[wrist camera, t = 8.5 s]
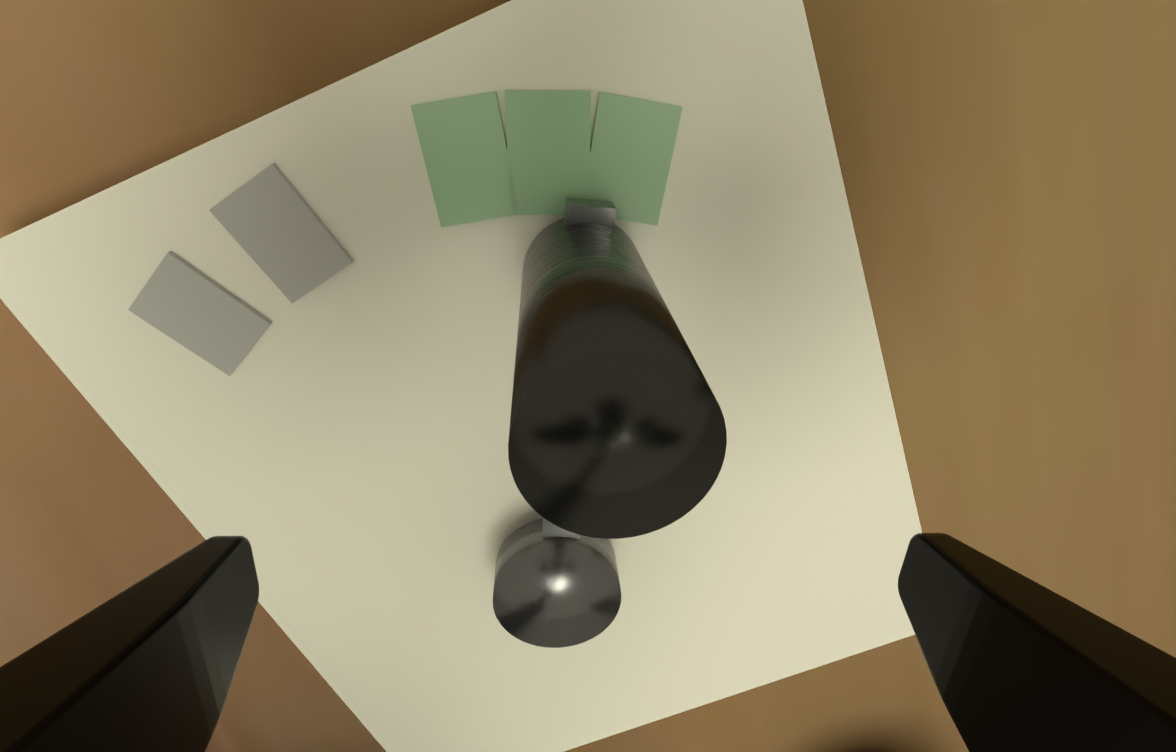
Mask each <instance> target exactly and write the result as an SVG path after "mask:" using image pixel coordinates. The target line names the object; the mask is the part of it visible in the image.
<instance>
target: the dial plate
mask: <svg viewBox="0 0 1176 752" xmlns="http://www.w3.org/2000/svg"><path fill="white" fill-rule="evenodd" d="M566 198H579V199H591V200H603V201H612V202H613V204H614V206H615V207H616V216H615V225H617V226H618V227H620V228H621V229H622V230H623V231H624V232H625V233H626V234H627V235H628V236H629V237H630V239H631V240H632V242H633V243H634V245H635V247H636V249H637V251H638V253H639V255H640V257H641V258H642V260H643V262H644V264H645V266H646V268H647V270H648V272H649V273H650V275H651V277H652V279H653V281H654V283H655V285H656V287H657V289H658V290H659V292H660V294H661V296H662V298H663V300H664V302H665V304H666V305H667V307H668V309H669V311H670V313H671V315H672V317H673V319H674V321H675V322H676V324H677V326H678V328H679V330H680V332H681V334H682V336H683V338H684V339H685V341H686V343H687V345H688V347H689V349H690V351H691V353H692V354H693V356H694V358H695V360H696V362H697V364H698V366H699V368H700V370H701V371H702V373H703V375H704V377H705V379H706V381H707V383H708V385H709V387H710V388H711V390H712V392H713V394H714V396H715V398H716V400H717V402H718V404H719V406H720V408H721V411H722V413H723V416H724V420H725V426H726V431H727V445H726V453H725V458H724V461H723V465H722V468H721V470H720V473H719V475H718V477H717V479H716V481H715V483H714V484H713V486H712V488H711V489H710V491H709V492H708V493H707V494H706V496H705V497H704V498H703V499H702V500H701V501H700V502H699V503H698V504H697V505H696V506H695V507H694V508H693V509H692V510H691V511H690V512H688V513H687V514H686V515H684V516H683V517H682V518H680V519H678V520H677V521H675V522H673V523H672V524H670V525H668V526H666V527H663V528H661V529H659V530H656V531H653V532H651V533H648V534H644V535H640V536H635V537H629V538H621V539H608V540H609V541H610V543H611V544H612V546H613V549H614V552H615V556H616V562H617V569H618V575H619V582H620V588H621V604H620V608H619V611H618V613H617V615H616V617H615V619H614V620H613V622H612V623H611V624H610V625H609V626H608V627H607V628H606V629H605V630H604V631H603V632H602V633H600V634H599V635H597V636H596V637H594V638H592V639H590V640H588V641H586V642H583V643H581V644H578V645H573V646H569V647H561V648H548V647H540V646H535V645H531V644H528V643H526V642H523V641H521V640H519V639H517V638H515V637H514V636H512V635H511V634H510V633H508V632H507V631H506V630H505V629H504V628H503V627H502V625H501V624H500V623H499V621H498V619H497V618H496V615H495V613H494V609H493V589H494V578H495V566H496V558H497V554H498V551H499V549H500V547H501V545H502V544H503V542H504V541H505V540H506V538H507V537H508V536H509V535H510V534H511V533H513V532H514V531H515V530H516V529H518V528H519V527H521V526H523V525H525V524H527V523H529V522H531V521H534V520H537V519H542V516H541V515H540V514H538V513H537V512H536V511H535V510H534V509H533V508H532V507H531V506H530V505H529V504H528V503H527V501H526V500H525V499H524V497H523V496H522V495H521V493H520V491H519V489H518V488H517V486H516V484H515V482H514V479H513V476H512V473H511V470H510V464H509V459H508V442H509V430H510V417H511V405H512V393H513V381H514V369H515V357H516V345H517V333H518V321H519V309H520V297H521V285H522V272H523V263H524V259H525V256H526V253H527V251H528V248H529V247H530V245H531V243H532V241H533V240H534V239H535V238H536V236H537V235H538V234H539V233H540V232H541V231H542V230H543V229H544V228H546V227H547V226H548V225H550V224H552V223H553V222H555V221H557V220H560V219H562V218H564V214H565V200H566ZM0 299H1V300H2V301H3V302H4V304H5V305H6V306H7V307H8V308H9V309H10V311H11V312H12V313H13V314H14V315H15V316H16V318H17V319H18V320H19V321H20V322H21V324H22V325H23V326H24V327H25V328H26V329H27V331H28V332H29V333H30V334H31V335H32V336H33V338H34V339H35V340H36V341H37V342H38V343H39V345H40V346H41V347H42V348H43V349H44V351H45V352H46V353H47V354H48V355H49V356H50V358H51V359H52V360H53V361H54V362H55V363H56V365H57V366H58V367H59V368H60V369H61V370H62V372H63V373H64V374H65V375H66V376H67V377H68V379H69V380H70V381H71V382H72V383H73V385H74V386H75V387H76V388H77V389H78V390H79V392H80V393H81V394H82V395H83V396H84V397H85V399H86V400H87V401H88V402H89V403H90V404H91V406H92V407H93V408H94V409H95V410H96V412H97V413H98V414H99V415H100V416H101V417H102V419H103V420H104V421H105V422H106V423H107V424H108V426H109V427H110V428H111V429H112V430H113V431H114V433H115V434H116V435H117V436H118V437H119V439H120V440H121V441H122V442H123V443H124V444H125V446H126V447H127V448H128V449H129V450H130V451H131V453H132V454H133V455H134V456H135V457H136V458H137V460H138V461H139V462H140V463H141V464H142V466H143V467H144V468H145V469H146V470H147V471H148V473H149V474H150V475H151V476H152V477H153V478H154V480H155V481H156V482H157V483H158V484H159V485H160V487H161V488H162V489H163V490H164V491H165V492H166V494H167V495H168V496H169V497H170V498H171V500H172V501H173V502H174V503H175V504H176V505H177V507H178V508H179V509H180V510H181V511H182V512H183V514H184V515H185V516H186V517H187V518H188V519H189V521H190V522H191V523H192V524H193V525H194V527H195V528H196V529H197V530H198V531H199V532H200V534H201V535H202V536H203V537H204V538H205V539H206V540H207V539H209V538H211V537H214V536H244V537H246V538H247V539H248V540H249V542H250V544H251V548H252V553H253V558H254V563H255V568H256V572H257V577H258V582H259V598H258V602H259V603H260V604H261V605H262V606H263V607H264V609H265V610H266V611H267V612H268V613H269V615H270V616H271V617H272V618H273V619H274V620H275V622H276V623H277V624H278V625H279V626H280V627H281V629H282V630H283V631H284V632H285V633H286V634H287V636H288V637H289V638H290V639H291V640H292V642H293V643H294V644H295V645H296V646H297V647H298V649H299V650H300V651H301V652H302V653H303V654H304V656H305V657H306V658H307V659H308V660H309V661H310V663H311V664H312V665H313V666H314V667H315V669H316V670H317V671H318V672H319V673H320V674H321V676H322V677H323V678H324V679H325V680H326V681H327V683H328V684H329V685H330V686H331V687H332V688H333V690H334V691H335V692H336V693H337V694H338V696H339V697H340V698H341V699H342V700H343V701H344V703H345V704H346V705H347V706H348V707H349V708H350V710H351V711H352V712H353V713H354V714H355V715H356V717H357V718H358V719H359V720H360V721H361V723H362V724H363V725H364V726H365V727H366V728H367V730H368V731H369V732H370V733H371V734H372V735H373V737H374V738H375V739H376V740H377V741H378V742H379V744H380V745H381V746H382V747H383V748H384V749H385V751H386V752H564V751H567V750H570V749H573V748H576V747H579V746H582V745H585V744H588V743H591V742H594V741H597V740H600V739H603V738H606V737H609V736H612V735H615V734H618V733H621V732H624V731H627V730H630V729H633V728H636V727H639V726H642V725H645V724H648V723H651V722H654V721H657V720H660V719H663V718H666V717H669V716H672V715H675V714H678V713H681V712H684V711H687V710H690V709H693V708H696V707H699V706H702V705H705V704H708V703H711V702H714V701H717V700H720V699H723V698H726V697H729V696H732V695H735V694H738V693H741V692H744V691H747V690H750V689H753V688H756V687H759V686H762V685H765V684H768V683H771V682H774V681H777V680H780V679H783V678H786V677H789V676H792V675H795V674H798V673H801V672H804V671H807V670H810V669H813V668H816V667H819V666H822V665H825V664H828V663H831V662H834V661H837V660H840V659H843V658H846V657H849V656H852V655H855V654H858V653H861V652H864V651H867V650H870V649H873V648H876V647H879V646H882V645H885V644H888V643H891V642H894V641H897V640H900V639H903V638H906V637H909V636H912V635H915V633H914V630H913V628H912V625H911V623H910V620H909V618H908V616H907V613H906V611H905V608H904V606H903V603H902V601H901V598H900V595H899V591H898V577H899V574H900V570H901V567H902V564H903V561H904V558H905V554H906V551H907V548H908V545H909V542H910V540H911V538H912V537H913V536H914V535H916V534H918V533H922V531H921V526H920V522H919V517H918V513H917V508H916V504H915V499H914V495H913V491H912V486H911V482H910V477H909V473H908V468H907V464H906V459H905V455H904V450H903V446H902V441H901V437H900V433H899V428H898V424H897V419H896V415H895V410H894V406H893V401H892V397H891V392H890V388H889V384H888V379H887V375H886V370H885V366H884V361H883V357H882V352H881V348H880V343H879V339H878V334H877V330H876V326H875V321H874V317H873V312H872V308H871V303H870V299H869V294H868V290H867V285H866V281H865V276H864V272H863V268H862V263H861V259H860V254H859V250H858V245H857V241H856V236H855V232H854V227H853V223H852V219H851V214H850V210H849V205H848V201H847V196H846V192H845V187H844V183H843V178H842V174H841V169H840V165H839V161H838V156H837V152H836V147H835V143H834V138H833V134H832V129H831V125H830V120H829V116H828V111H827V107H826V103H825V98H824V94H823V89H822V85H821V80H820V76H819V71H818V67H817V62H816V58H815V54H814V49H813V45H812V40H811V36H810V31H809V27H808V22H807V18H806V13H805V9H804V4H803V0H511V1H508V2H506V3H504V4H502V5H500V6H498V7H496V8H493V9H491V10H489V11H487V12H485V13H483V14H481V15H478V16H476V17H474V18H472V19H470V20H468V21H466V22H463V23H461V24H459V25H457V26H455V27H453V28H451V29H448V30H446V31H444V32H442V33H440V34H438V35H436V36H433V37H431V38H429V39H427V40H425V41H423V42H421V43H418V44H416V45H414V46H412V47H410V48H408V49H406V50H403V51H401V52H399V53H397V54H395V55H393V56H391V57H388V58H386V59H384V60H382V61H380V62H378V63H376V64H373V65H371V66H369V67H367V68H365V69H363V70H361V71H358V72H356V73H354V74H352V75H350V76H348V77H346V78H343V79H341V80H339V81H337V82H335V83H333V84H331V85H328V86H326V87H324V88H322V89H320V90H318V91H316V92H313V93H311V94H309V95H307V96H305V97H303V98H301V99H298V100H296V101H294V102H292V103H290V104H288V105H286V106H283V107H281V108H279V109H277V110H275V111H273V112H271V113H268V114H266V115H264V116H262V117H260V118H258V119H256V120H253V121H251V122H249V123H247V124H245V125H243V126H241V127H238V128H236V129H234V130H232V131H230V132H228V133H226V134H223V135H221V136H219V137H217V138H215V139H213V140H211V141H208V142H206V143H204V144H202V145H200V146H198V147H196V148H193V149H191V150H189V151H187V152H185V153H183V154H181V155H178V156H176V157H174V158H172V159H170V160H168V161H166V162H163V163H161V164H159V165H157V166H155V167H153V168H151V169H148V170H146V171H144V172H142V173H140V174H138V175H135V176H133V177H131V178H129V179H127V180H125V181H123V182H120V183H118V184H116V185H114V186H112V187H110V188H108V189H105V190H103V191H101V192H99V193H97V194H95V195H93V196H90V197H88V198H86V199H84V200H82V201H80V202H78V203H75V204H73V205H71V206H69V207H67V208H65V209H63V210H60V211H58V212H56V213H54V214H52V215H50V216H48V217H45V218H43V219H41V220H39V221H37V222H35V223H33V224H30V225H28V226H26V227H24V228H22V229H20V230H18V231H15V232H13V233H11V234H9V235H7V236H5V237H3V238H0Z"/></svg>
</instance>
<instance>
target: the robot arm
mask: <svg viewBox="0 0 1176 752" xmlns="http://www.w3.org/2000/svg"><path fill="white" fill-rule="evenodd" d="M898 591H899V595H900V598H901V601H902V603H903V606H904V608H905V611H906V613H907V616H908V618H909V620H910V623H911V625H912V628H913V630H914V633H915V635H916V638H917V640H918V643H919V645H920V647H921V650H922V652H923V655H924V657H925V660H926V662H927V665H928V667H929V669H930V672H931V674H932V677H933V679H934V682H935V684H936V686H937V688H938V691H939V693H940V695H941V697H942V700H943V702H944V704H945V706H946V708H947V710H948V712H949V714H950V716H951V718H952V719H953V721H954V723H955V725H956V727H957V729H958V731H959V733H960V735H961V737H962V739H963V740H964V742H965V744H966V746H967V748H968V750H969V752H1176V658H1175V657H1173V656H1171V655H1169V654H1167V653H1165V652H1164V651H1162V650H1160V649H1158V648H1156V647H1154V646H1153V645H1151V644H1149V643H1147V642H1145V641H1143V640H1141V639H1140V638H1138V637H1136V636H1134V635H1132V634H1130V633H1129V632H1127V631H1125V630H1123V629H1121V628H1119V627H1117V626H1116V625H1114V624H1112V623H1110V622H1108V621H1106V620H1105V619H1103V618H1101V617H1099V616H1097V615H1095V614H1093V613H1092V612H1090V611H1088V610H1086V609H1084V608H1082V607H1081V606H1079V605H1077V604H1075V603H1073V602H1071V601H1069V600H1068V599H1066V598H1064V597H1062V596H1060V595H1058V594H1057V593H1055V592H1053V591H1051V590H1049V589H1047V588H1045V587H1044V586H1042V585H1040V584H1038V583H1036V582H1034V581H1033V580H1031V579H1029V578H1027V577H1025V576H1023V575H1021V574H1020V573H1018V572H1016V571H1014V570H1012V569H1010V568H1009V567H1007V566H1005V565H1003V564H1001V563H999V562H997V561H996V560H994V559H992V558H990V557H988V556H986V555H985V554H983V553H981V552H979V551H977V550H975V549H973V548H972V547H970V546H968V545H966V544H964V543H962V542H960V541H959V540H957V539H955V538H953V537H951V536H949V535H947V534H944V533H918V534H916V535H914V536H913V537H912V538H911V540H910V542H909V545H908V548H907V551H906V554H905V558H904V561H903V564H902V567H901V570H900V574H899V577H898ZM258 598H259V582H258V577H257V572H256V568H255V563H254V558H253V553H252V548H251V544H250V542H249V540H248V539H247V538H246V537H244V536H214V537H211V538H209V539H207V540H205V541H204V542H202V543H200V544H199V545H197V546H196V547H194V548H192V549H191V550H189V551H187V552H186V553H184V554H183V555H181V556H179V557H178V558H176V559H175V560H173V561H171V562H170V563H168V564H166V565H165V566H163V567H162V568H160V569H158V570H157V571H155V572H154V573H152V574H150V575H149V576H147V577H145V578H144V579H142V580H141V581H139V582H137V583H136V584H134V585H132V586H131V587H129V588H128V589H126V590H124V591H123V592H121V593H120V594H118V595H116V596H115V597H113V598H111V599H110V600H108V601H107V602H105V603H103V604H102V605H100V606H99V607H97V608H95V609H94V610H92V611H90V612H89V613H87V614H86V615H84V616H82V617H81V618H79V619H78V620H76V621H74V622H73V623H71V624H69V625H68V626H66V627H65V628H63V629H61V630H60V631H58V632H57V633H55V634H53V635H52V636H50V637H48V638H47V639H45V640H44V641H42V642H40V643H39V644H37V645H35V646H34V647H32V648H31V649H29V650H27V651H26V652H24V653H23V654H21V655H19V656H18V657H16V658H14V659H13V660H11V661H10V662H8V663H6V664H5V665H3V666H2V667H0V752H205V750H206V748H207V746H208V744H209V741H210V739H211V737H212V735H213V732H214V730H215V727H216V725H217V723H218V720H219V718H220V715H221V712H222V710H223V707H224V704H225V701H226V698H227V695H228V692H229V689H230V686H231V683H232V680H233V677H234V674H235V671H236V668H237V665H238V662H239V659H240V656H241V652H242V649H243V646H244V643H245V640H246V637H247V634H248V631H249V628H250V625H251V622H252V619H253V616H254V613H255V610H256V606H257V603H258Z"/></svg>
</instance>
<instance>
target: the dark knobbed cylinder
mask: <svg viewBox="0 0 1176 752" xmlns="http://www.w3.org/2000/svg"><path fill="white" fill-rule="evenodd" d="M615 216H616V207H615V206H614V204H613V202H612V201H603V200H591V199H579V198H566V200H565V214H564V218H562V219H560V220H557V221H555V222H553V223H552V224H550V225H548V226H547V227H546V228H544V229H543V230H542V231H541V232H540V233H539V234H538V235H537V236H536V238H535V239H534V240H533V241H532V243H531V245H530V247H529V248H528V251H527V253H526V256H525V259H524V263H523V272H522V285H521V297H520V309H519V321H518V333H517V345H516V357H515V369H514V381H513V393H512V405H511V417H510V430H509V442H508V459H509V464H510V470H511V473H512V476H513V479H514V482H515V484H516V486H517V488H518V489H519V491H520V493H521V495H522V496H523V497H524V499H525V500H526V501H527V503H528V504H529V505H530V506H531V507H532V508H533V509H534V510H535V511H536V512H537V513H538V514H540V515H541V516H542V519H537V520H534V521H531V522H529V523H527V524H525V525H523V526H521V527H519V528H518V529H516V530H515V531H514V532H513V533H511V534H510V535H509V536H508V537H507V538H506V540H505V541H504V542H503V544H502V545H501V547H500V549H499V551H498V554H497V558H496V566H495V578H494V589H493V609H494V613H495V615H496V618H497V619H498V621H499V623H500V624H501V625H502V627H503V628H504V629H505V630H506V631H507V632H508V633H510V634H511V635H512V636H514V637H515V638H517V639H519V640H521V641H523V642H526V643H528V644H531V645H535V646H540V647H548V648H561V647H569V646H573V645H578V644H581V643H583V642H586V641H588V640H590V639H592V638H594V637H596V636H597V635H599V634H600V633H602V632H603V631H604V630H605V629H606V628H607V627H608V626H609V625H610V624H611V623H612V622H613V620H614V619H615V617H616V615H617V613H618V611H619V608H620V604H621V588H620V582H619V575H618V569H617V562H616V556H615V552H614V549H613V546H612V544H611V543H610V541H609V540H608V539H621V538H629V537H635V536H640V535H644V534H648V533H651V532H653V531H656V530H659V529H661V528H663V527H666V526H668V525H670V524H672V523H673V522H675V521H677V520H678V519H680V518H682V517H683V516H684V515H686V514H687V513H688V512H690V511H691V510H692V509H693V508H694V507H695V506H696V505H697V504H698V503H699V502H700V501H701V500H702V499H703V498H704V497H705V496H706V494H707V493H708V492H709V491H710V489H711V488H712V486H713V484H714V483H715V481H716V479H717V477H718V475H719V473H720V470H721V468H722V465H723V461H724V458H725V453H726V445H727V431H726V426H725V420H724V416H723V413H722V411H721V408H720V406H719V404H718V402H717V400H716V398H715V396H714V394H713V392H712V390H711V388H710V387H709V385H708V383H707V381H706V379H705V377H704V375H703V373H702V371H701V370H700V368H699V366H698V364H697V362H696V360H695V358H694V356H693V354H692V353H691V351H690V349H689V347H688V345H687V343H686V341H685V339H684V338H683V336H682V334H681V332H680V330H679V328H678V326H677V324H676V322H675V321H674V319H673V317H672V315H671V313H670V311H669V309H668V307H667V305H666V304H665V302H664V300H663V298H662V296H661V294H660V292H659V290H658V289H657V287H656V285H655V283H654V281H653V279H652V277H651V275H650V273H649V272H648V270H647V268H646V266H645V264H644V262H643V260H642V258H641V257H640V255H639V253H638V251H637V249H636V247H635V245H634V243H633V242H632V240H631V239H630V237H629V236H628V235H627V234H626V233H625V232H624V231H623V230H622V229H621V228H620V227H618V226H617V225H615Z"/></svg>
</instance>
